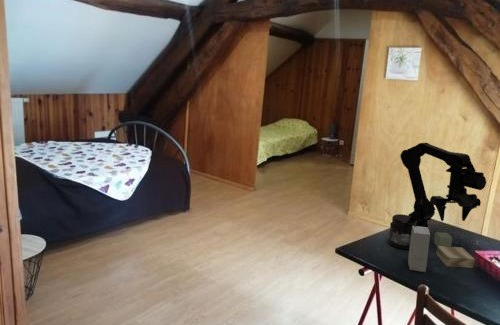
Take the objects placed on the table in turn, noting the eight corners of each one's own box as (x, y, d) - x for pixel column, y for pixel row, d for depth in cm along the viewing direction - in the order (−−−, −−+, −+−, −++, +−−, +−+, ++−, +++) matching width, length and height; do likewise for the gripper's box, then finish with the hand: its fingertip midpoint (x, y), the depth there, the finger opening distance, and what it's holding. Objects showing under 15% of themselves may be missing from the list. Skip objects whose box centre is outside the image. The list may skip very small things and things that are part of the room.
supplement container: (399, 237, 176) (403, 212, 173) (419, 247, 167) (423, 220, 164) (382, 241, 171) (385, 215, 169) (401, 252, 162) (405, 224, 160)
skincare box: (425, 272, 146) (431, 235, 143) (408, 269, 148) (413, 232, 144) (423, 262, 154) (429, 226, 150) (406, 259, 156) (412, 224, 152)
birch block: (446, 266, 152) (447, 257, 151) (435, 255, 162) (437, 245, 161) (473, 268, 152) (474, 259, 151) (460, 256, 162) (462, 247, 161)
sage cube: (438, 247, 168) (440, 236, 167) (433, 242, 173) (435, 232, 172) (450, 248, 168) (452, 237, 167) (445, 243, 173) (447, 233, 171)
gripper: (446, 189, 155) (441, 227, 158) (491, 189, 156) (486, 227, 159) (431, 182, 166) (427, 218, 169) (474, 182, 167) (469, 218, 170)
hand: (452, 220), depth 166 cm, fingers open, 9 cm apart
